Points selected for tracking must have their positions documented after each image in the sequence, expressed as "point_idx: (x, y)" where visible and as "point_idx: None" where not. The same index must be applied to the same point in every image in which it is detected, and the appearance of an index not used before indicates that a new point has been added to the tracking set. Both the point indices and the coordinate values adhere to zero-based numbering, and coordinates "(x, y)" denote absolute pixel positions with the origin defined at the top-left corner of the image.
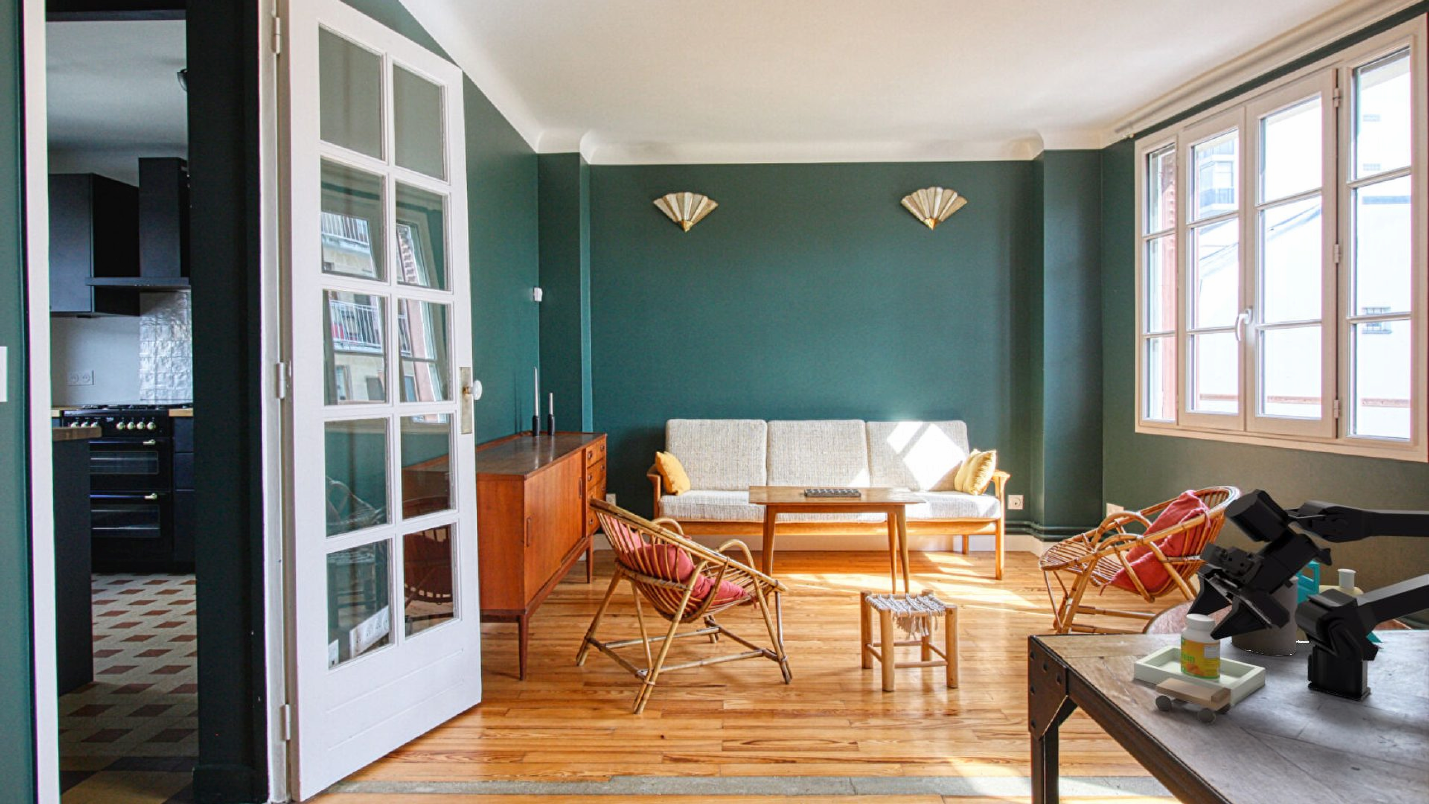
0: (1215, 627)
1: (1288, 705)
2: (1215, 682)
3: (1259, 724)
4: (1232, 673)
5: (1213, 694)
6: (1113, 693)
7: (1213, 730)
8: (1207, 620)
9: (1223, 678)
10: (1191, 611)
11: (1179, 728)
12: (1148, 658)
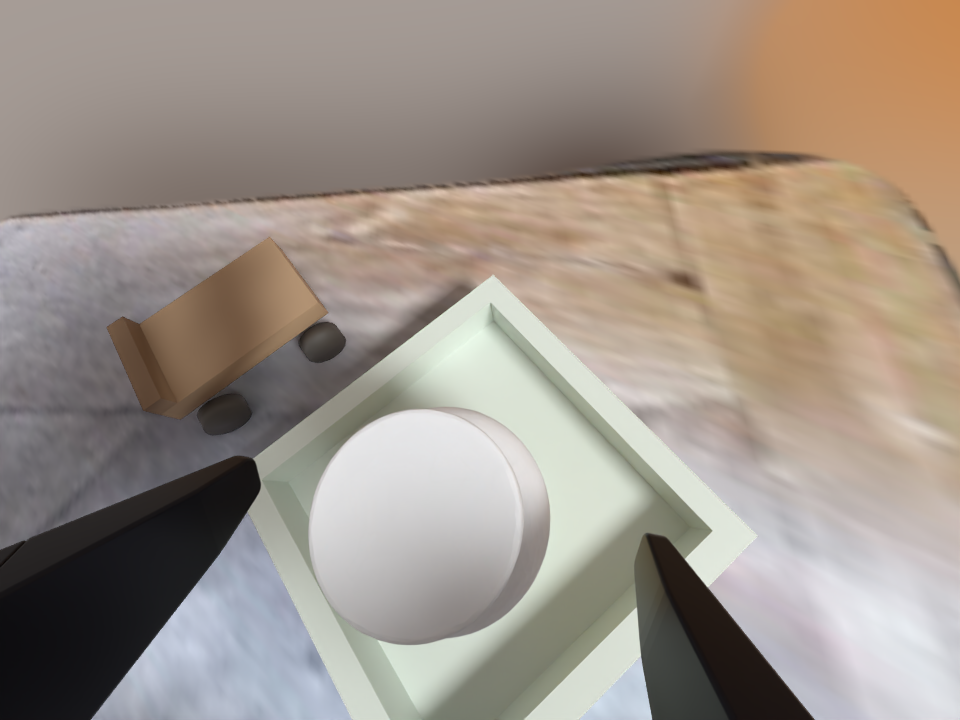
0: (192, 488)
1: (239, 709)
2: None
3: (154, 476)
4: (517, 694)
5: (127, 329)
6: (389, 211)
7: None
8: (327, 525)
9: None
10: (664, 590)
11: (191, 268)
12: (539, 340)
